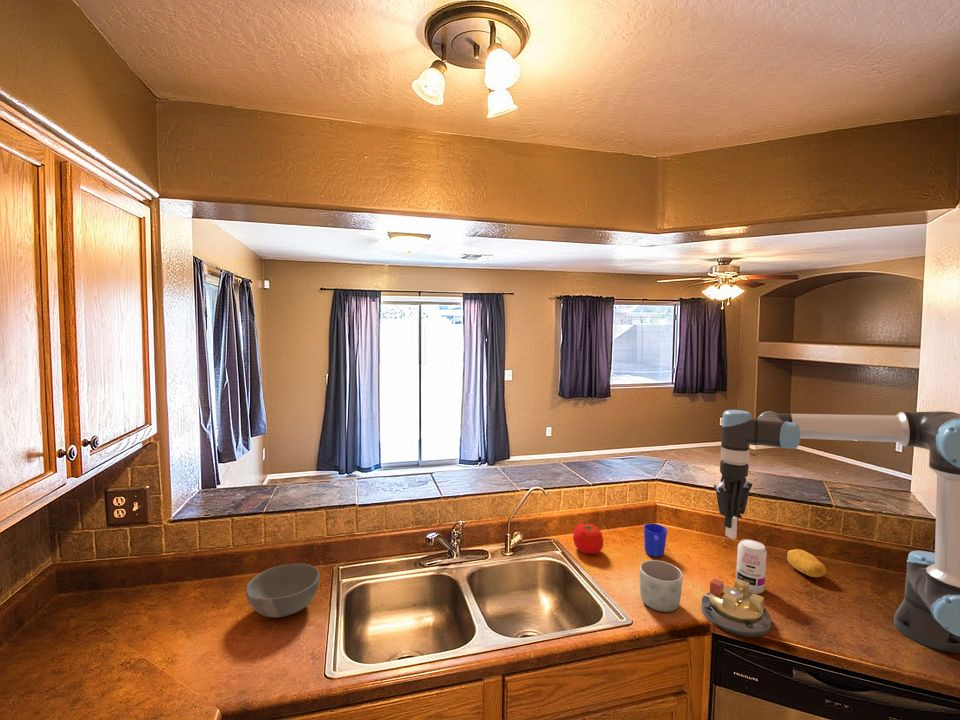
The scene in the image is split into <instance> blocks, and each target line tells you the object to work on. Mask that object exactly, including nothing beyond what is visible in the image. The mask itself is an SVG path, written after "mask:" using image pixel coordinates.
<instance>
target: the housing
mask: <svg viewBox="0 0 960 720" xmlns="http://www.w3.org/2000/svg"><path fill="white" fill-rule="evenodd" d="M729 594H731V595H733V596H736V597H738V602H739V603H740V602H743V593H742V592H741V591H739V590H737V589H730V590H729ZM709 595H710V591H708V592H707V593H705V594H703V596H702V598H701V607H700V608H701V612H702V614H703V615H704V617H705V618H706V619H707V620H708V621H709V622H710V623H712V624H713V625H714V626H716V627H717V628H719V629H721V630H723V631H726V632H728V633H731V634H733V635H737V636H742V637H747V638H758V637H759V638H760V637H764V636H765V635H767V634H769V632H771V625H772V624H771V623H772V618H771V614H770V613H769V612H768V610H767V608H766V607H765V606H763V618H762V619H761V620H760V621H759V622H756V623H742V622H737V621H734V620H731V619H728V618H726V617H724V616H722V615H720V614H719V613H717V612H716V611H715V610H714V609H713V608H712V607H711V605H710V603H709Z"/></svg>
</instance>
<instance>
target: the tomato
mask: <svg viewBox="0 0 960 720" xmlns="http://www.w3.org/2000/svg"><path fill="white" fill-rule="evenodd" d="M572 537H573V538H572V539H573V543H574V546H575V548H576V549H577V550H578V551H579V552H581V553H584V554H586V555H596V554H598V553H600V552H601V550H602V549H603V547H604V539H603V533H602V531H601V530H600V529H599V528H598V527H596V526H595V525H594V524H590V523H587V524H586V523H582V522H581V523H578V524H577V525H576V526H575V527H574V529H573V536H572Z"/></svg>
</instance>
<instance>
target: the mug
mask: <svg viewBox="0 0 960 720" xmlns="http://www.w3.org/2000/svg"><path fill="white" fill-rule="evenodd" d="M667 535H668V529H667V528H666V527H665V526H663V525H661V524H658V523H646V524H644V525H643V538H644V539H643V541H644V551H645V553H646V554H647V555H649V556H651V557H654V558H655V557H656V558H659V557H662V556H664V554H665V550H666V549H665V548H666V543H667Z"/></svg>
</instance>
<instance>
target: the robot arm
mask: <svg viewBox="0 0 960 720" xmlns="http://www.w3.org/2000/svg"><path fill="white" fill-rule="evenodd" d="M801 439H805V440H806V439H807V440H809V439H810V440H827V441H828V440H829V441H830V440H831V441H832V440H835V441H855V442H856V441H857V442H859V441H860V442H877V443H878V442H882V443H884V442H885V443H886V442H887V443H898V444H899V445H901V446H902V447H914V448H920V449H925V450H928V451H929V458H928V461H929V462H928V468H929V469H930V470H931V471H933V472H934V473H935V474H936V503H935V504H936V505H935V508H936V509H935V534H934V535H935V539H934V541H935V544H934V552H932V551H925V550H913V551H910V552H909V553H908V556H907V559H906V563H907V564H906V575H905V585H904V597H903V600H902V602H901V603H900V605H899V606H898V608H897V610H896V611H895V613H894V615H893V616H894V617H893V624H894V626H895V628H896V629H897V630H898V631H900V632H901V633H902V634H903V635H905V636H906V637H908V638H909V639H910V640H913V641H915V642H917V643H919V644H921V645H923V646H926V647H928V648H932V649H935V650H938V651H942V652H945V653H951V654H960V413H958V412H952V411H947V410H946V411H945V410H944V411H942V410H941V411H934V410H933V411H899V412H898V413H897V414H895V415H891V414H889V415H888V414H887V415H885V414H883V415H882V414H881V415H880V414H879V415H878V414H830V413H827V414H826V413H825V414H823V413H822V414H821V413H777V412H775V411H764V412H762V413H761V414H759V416H757V419H756V418H753V417H752V414H751V412H749V411H748V410H747V411H746V410H741V409H740V410H739V409H727V410H725V411H724V412H723V413H722V420H721V438H720V440H721V441H720V443H721V444H720V459H721V460H720V461H719V462H720V463H719V472H720V475H721V478H720V483H718V484H714V485H713V489H714V491H715V494H716V499H717V507H718V513H719V514H720V515H722V516H724V526H725V532H724V533H725V534H724V535H725V537H728V538H729V539H731V540H737V533H738V532H737V531H738V526H739V519H742V518H743V516H742V515H744V514H745V513H746V512H745V511H746V507H747V503H748V500H749V499H748V498H749V495H750V492H751V489H752V487H753V483H752V482H749V481H747V477H748V476H749V468H750V465H749V464H748V463H749V462H750V446H751V445H757V446H764V447H765V446H766V447H772V448H773V447H774V448H782V449H798V447H799V445H800V440H801Z"/></svg>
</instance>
